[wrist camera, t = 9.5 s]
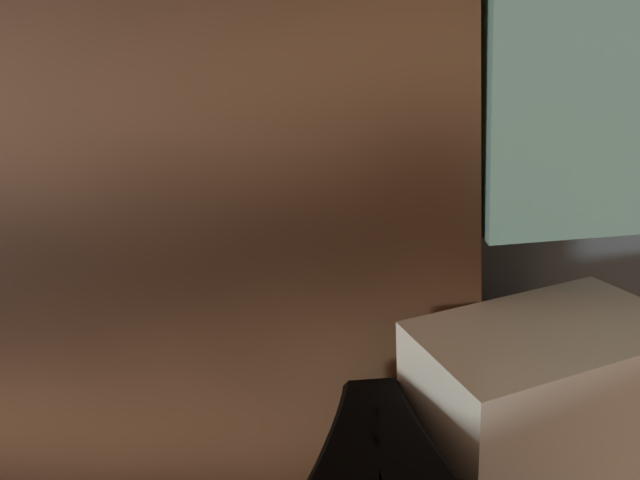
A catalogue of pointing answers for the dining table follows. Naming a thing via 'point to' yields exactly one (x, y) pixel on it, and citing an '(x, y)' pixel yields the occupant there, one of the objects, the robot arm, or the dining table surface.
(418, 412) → the beige block
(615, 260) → the tray
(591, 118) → the sage tile
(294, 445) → the board
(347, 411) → the robot arm
